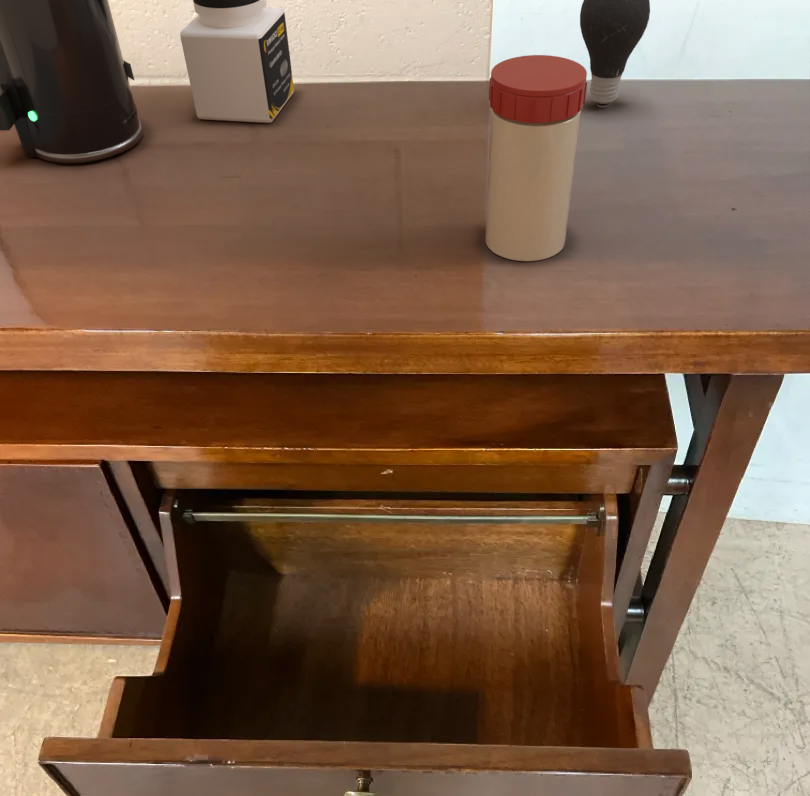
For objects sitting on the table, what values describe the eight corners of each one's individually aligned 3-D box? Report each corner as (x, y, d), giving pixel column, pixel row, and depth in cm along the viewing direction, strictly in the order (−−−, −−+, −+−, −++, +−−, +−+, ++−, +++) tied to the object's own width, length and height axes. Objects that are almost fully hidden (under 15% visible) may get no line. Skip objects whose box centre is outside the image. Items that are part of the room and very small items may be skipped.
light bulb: (648, 107, 74) (671, -26, 66) (600, 124, 72) (619, -11, 64) (603, 88, 77) (621, -41, 69) (557, 103, 75) (569, -28, 67)
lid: (492, 125, 51) (493, 92, 49) (486, 87, 54) (487, 56, 53) (589, 121, 50) (594, 89, 49) (576, 84, 54) (580, 53, 53)
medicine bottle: (272, 124, 74) (249, -36, 65) (196, 120, 75) (163, -38, 66) (295, 92, 79) (276, -61, 70) (223, 89, 80) (196, -63, 71)
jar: (488, 262, 57) (495, 99, 50) (483, 222, 61) (489, 64, 53) (570, 260, 57) (590, 96, 49) (559, 220, 61) (577, 61, 53)
